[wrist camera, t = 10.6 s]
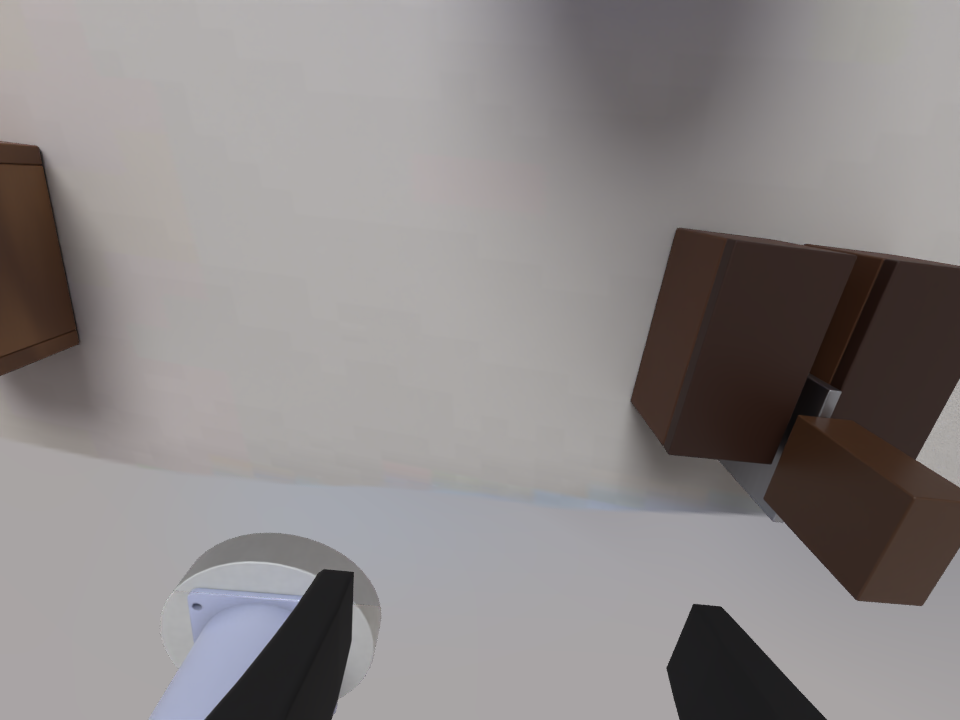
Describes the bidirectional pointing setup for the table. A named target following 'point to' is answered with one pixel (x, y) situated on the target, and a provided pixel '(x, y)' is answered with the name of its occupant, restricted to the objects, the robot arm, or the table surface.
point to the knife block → (30, 265)
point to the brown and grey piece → (857, 502)
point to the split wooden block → (794, 343)
